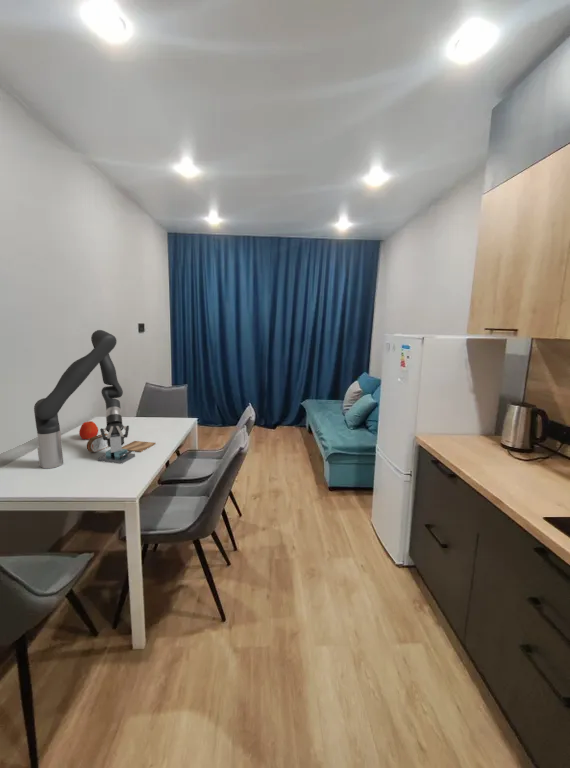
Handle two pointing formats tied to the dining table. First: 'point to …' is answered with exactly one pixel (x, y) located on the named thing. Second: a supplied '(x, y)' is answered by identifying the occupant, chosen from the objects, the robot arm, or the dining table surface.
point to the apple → (88, 430)
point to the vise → (117, 456)
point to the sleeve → (115, 443)
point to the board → (138, 446)
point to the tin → (97, 443)
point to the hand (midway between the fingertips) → (116, 445)
